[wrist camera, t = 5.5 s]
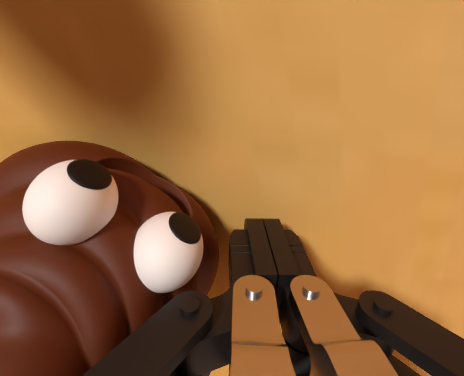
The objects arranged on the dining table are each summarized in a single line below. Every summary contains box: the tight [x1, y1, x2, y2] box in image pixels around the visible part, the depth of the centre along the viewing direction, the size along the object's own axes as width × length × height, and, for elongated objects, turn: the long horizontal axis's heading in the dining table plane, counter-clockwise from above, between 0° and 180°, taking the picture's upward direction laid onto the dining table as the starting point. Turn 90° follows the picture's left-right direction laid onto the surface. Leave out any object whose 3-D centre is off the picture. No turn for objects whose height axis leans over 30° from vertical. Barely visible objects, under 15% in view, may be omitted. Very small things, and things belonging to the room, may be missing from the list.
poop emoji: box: [0, 141, 219, 376], centre depth 9 cm, size 10×8×9 cm
